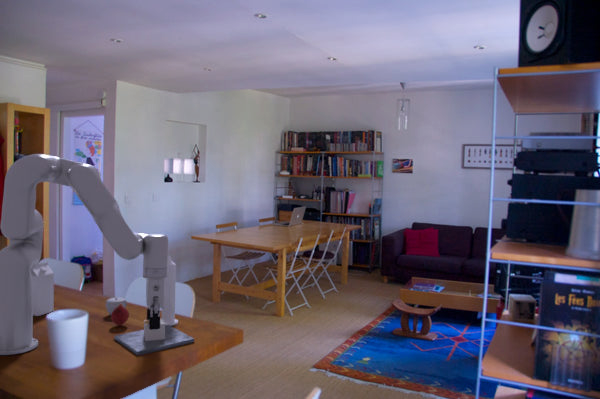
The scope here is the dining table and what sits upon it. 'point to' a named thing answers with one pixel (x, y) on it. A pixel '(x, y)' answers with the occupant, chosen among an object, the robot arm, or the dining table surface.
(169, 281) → the candle
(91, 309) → the dining table surface
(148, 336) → the white cube box
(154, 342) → the hub plate
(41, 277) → the milk carton
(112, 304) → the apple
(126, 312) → the onion
